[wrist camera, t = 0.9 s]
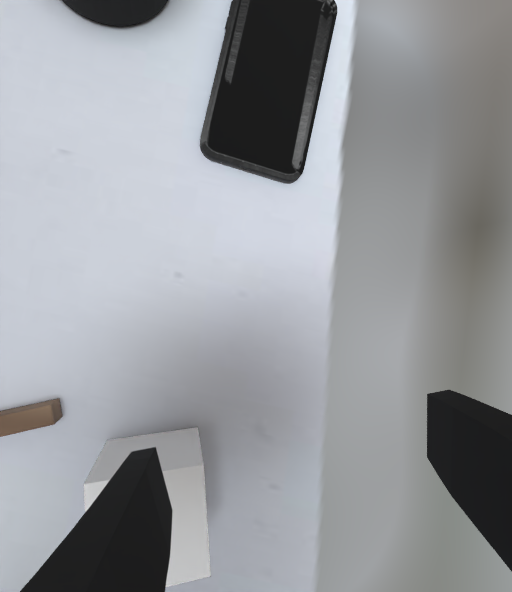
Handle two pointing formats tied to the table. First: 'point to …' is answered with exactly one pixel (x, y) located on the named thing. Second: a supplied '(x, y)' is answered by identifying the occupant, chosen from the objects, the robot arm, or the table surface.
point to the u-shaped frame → (29, 417)
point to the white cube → (181, 489)
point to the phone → (268, 86)
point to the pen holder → (117, 10)
